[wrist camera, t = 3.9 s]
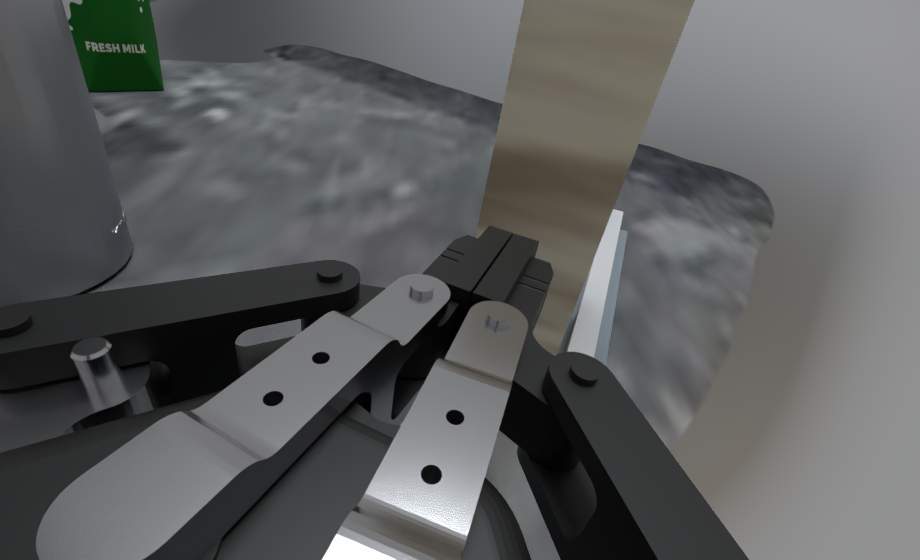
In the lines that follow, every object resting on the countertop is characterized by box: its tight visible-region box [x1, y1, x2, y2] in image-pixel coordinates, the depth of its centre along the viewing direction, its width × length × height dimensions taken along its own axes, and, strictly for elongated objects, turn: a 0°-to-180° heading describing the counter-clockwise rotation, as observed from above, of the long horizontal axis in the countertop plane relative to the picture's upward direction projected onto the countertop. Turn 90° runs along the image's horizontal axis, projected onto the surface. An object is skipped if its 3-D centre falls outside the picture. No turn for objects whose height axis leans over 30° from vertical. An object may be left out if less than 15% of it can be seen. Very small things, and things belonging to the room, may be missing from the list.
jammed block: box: [475, 0, 694, 356], centre depth 18 cm, size 5×5×20 cm
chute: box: [557, 209, 627, 366], centre depth 28 cm, size 21×10×4 cm, turn 158°
